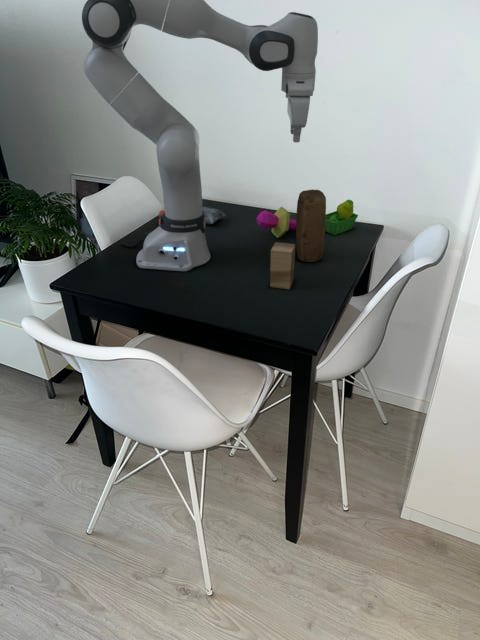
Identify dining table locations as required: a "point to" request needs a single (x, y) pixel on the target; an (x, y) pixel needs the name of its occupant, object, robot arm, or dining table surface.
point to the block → (310, 225)
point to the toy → (276, 221)
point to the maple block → (282, 265)
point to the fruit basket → (341, 218)
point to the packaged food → (212, 215)
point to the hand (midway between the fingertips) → (294, 137)
